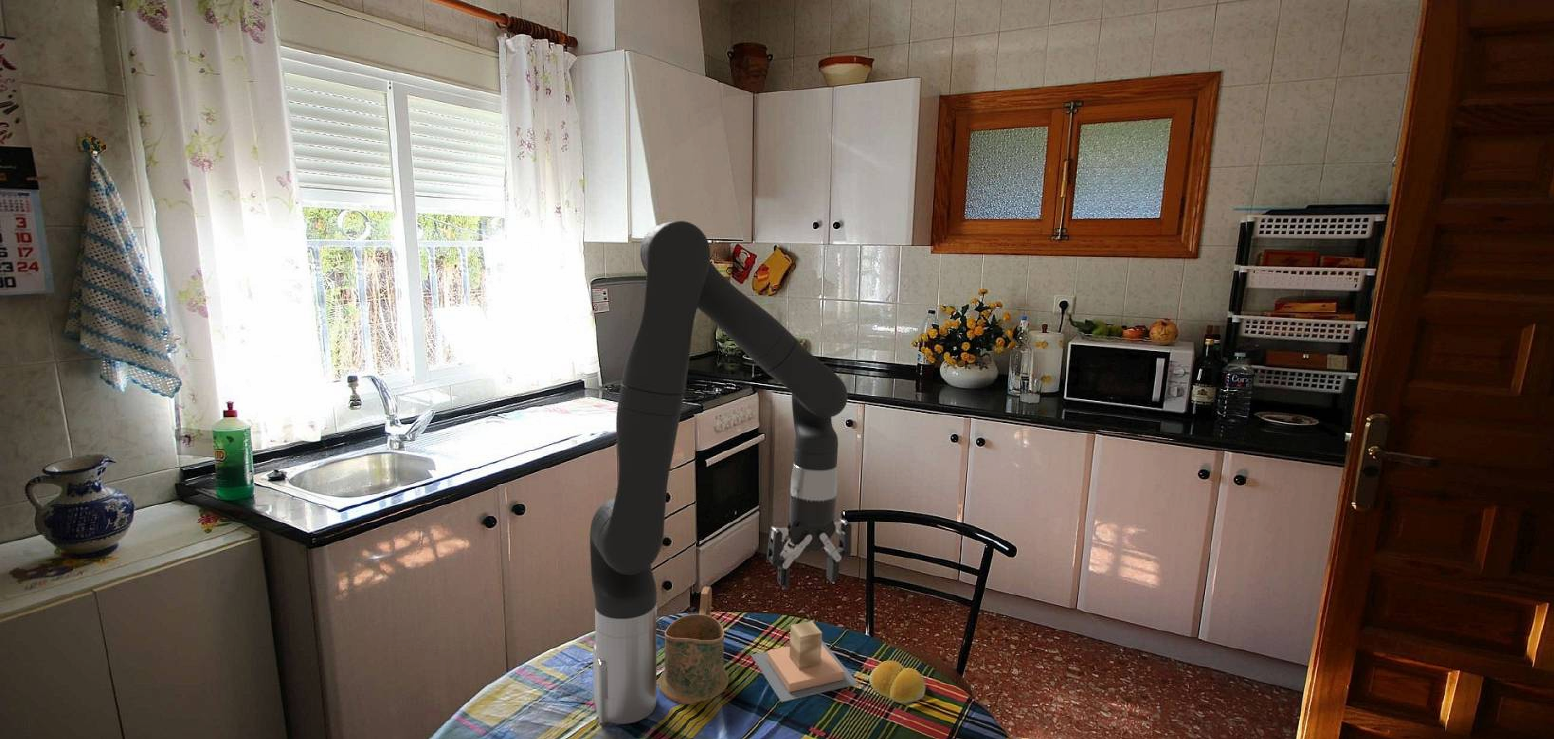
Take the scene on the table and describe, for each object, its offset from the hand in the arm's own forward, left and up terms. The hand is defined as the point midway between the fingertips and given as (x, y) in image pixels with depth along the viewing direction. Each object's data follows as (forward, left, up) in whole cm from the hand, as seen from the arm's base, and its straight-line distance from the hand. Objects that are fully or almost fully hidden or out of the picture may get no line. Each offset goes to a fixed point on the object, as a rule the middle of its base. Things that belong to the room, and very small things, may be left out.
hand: (807, 583), depth 119 cm
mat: (0, +1, -16) cm, 16 cm away
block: (0, 0, -14) cm, 14 cm away
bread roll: (+13, -9, -17) cm, 23 cm away
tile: (0, +5, -15) cm, 16 cm away
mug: (-17, +7, -17) cm, 25 cm away
